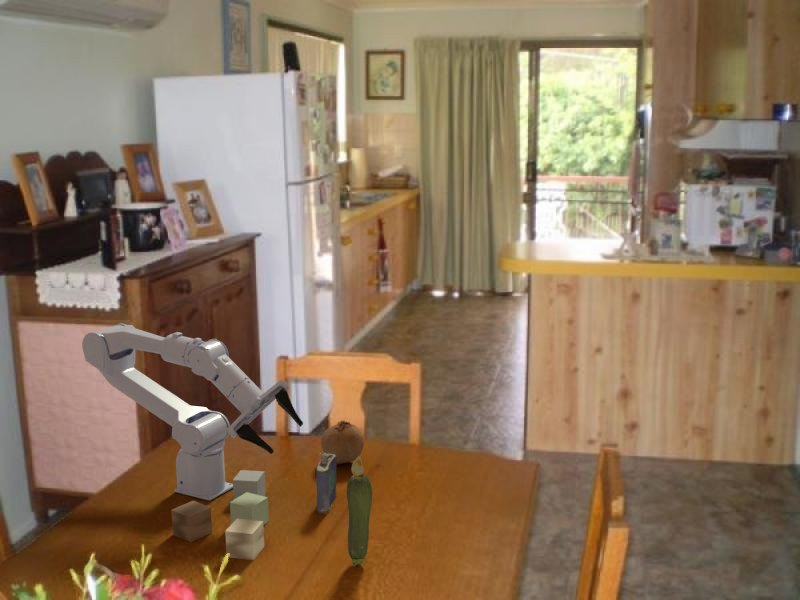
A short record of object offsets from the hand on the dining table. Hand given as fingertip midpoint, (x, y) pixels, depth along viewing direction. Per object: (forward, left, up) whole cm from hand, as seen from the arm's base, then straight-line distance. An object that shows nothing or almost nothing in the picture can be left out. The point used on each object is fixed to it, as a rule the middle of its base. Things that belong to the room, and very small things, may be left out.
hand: (287, 438), depth 171 cm
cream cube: (+4, -18, -14) cm, 24 cm away
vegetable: (+24, -12, -14) cm, 30 cm away
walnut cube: (-9, -17, -14) cm, 24 cm away
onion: (-2, +24, -14) cm, 28 cm away
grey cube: (-9, 0, -14) cm, 17 cm away
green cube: (-2, -9, -14) cm, 17 cm away
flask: (+6, +5, -15) cm, 16 cm away
